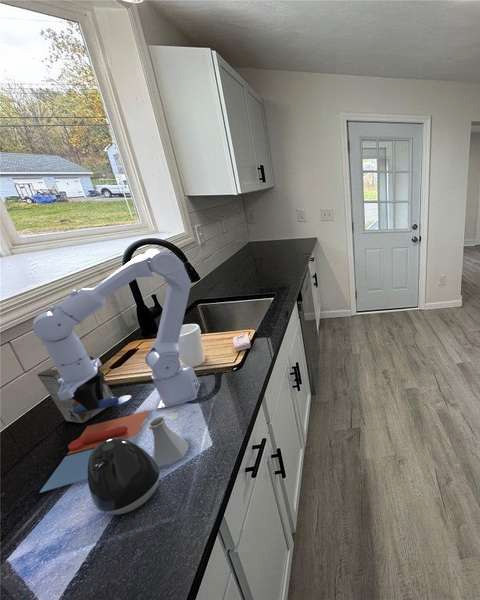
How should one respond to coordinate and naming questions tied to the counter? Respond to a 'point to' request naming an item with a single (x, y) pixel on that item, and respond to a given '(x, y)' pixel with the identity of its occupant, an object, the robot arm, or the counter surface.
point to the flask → (166, 443)
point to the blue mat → (70, 470)
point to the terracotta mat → (129, 421)
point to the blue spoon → (105, 404)
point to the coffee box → (66, 406)
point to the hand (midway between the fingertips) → (96, 404)
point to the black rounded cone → (121, 476)
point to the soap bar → (241, 342)
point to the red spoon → (96, 437)
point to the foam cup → (191, 345)
